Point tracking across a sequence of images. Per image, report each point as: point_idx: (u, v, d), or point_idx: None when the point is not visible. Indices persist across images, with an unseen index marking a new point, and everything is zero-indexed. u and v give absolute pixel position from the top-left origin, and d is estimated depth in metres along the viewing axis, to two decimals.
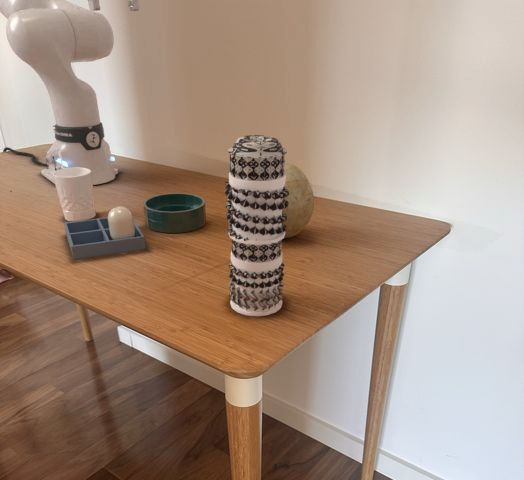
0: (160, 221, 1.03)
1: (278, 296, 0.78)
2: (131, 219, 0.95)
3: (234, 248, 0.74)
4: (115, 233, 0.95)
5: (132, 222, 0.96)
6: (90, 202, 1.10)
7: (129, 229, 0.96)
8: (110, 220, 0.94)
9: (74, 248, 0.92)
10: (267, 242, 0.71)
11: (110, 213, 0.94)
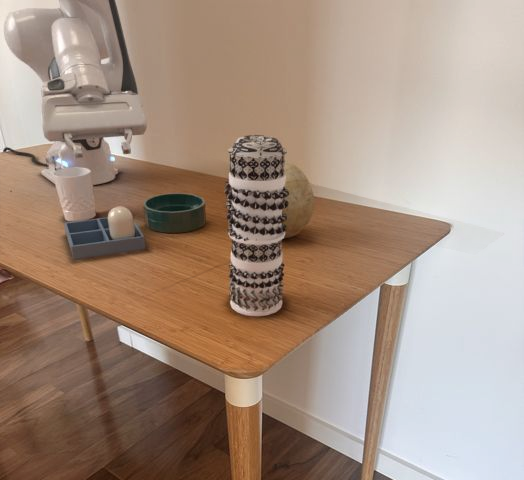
0: (160, 221, 1.03)
1: (278, 296, 0.78)
2: (131, 219, 0.95)
3: (234, 248, 0.74)
4: (115, 233, 0.95)
5: (132, 222, 0.96)
6: (90, 202, 1.10)
7: (129, 229, 0.96)
8: (110, 220, 0.94)
9: (74, 248, 0.92)
10: (267, 242, 0.71)
11: (110, 213, 0.94)
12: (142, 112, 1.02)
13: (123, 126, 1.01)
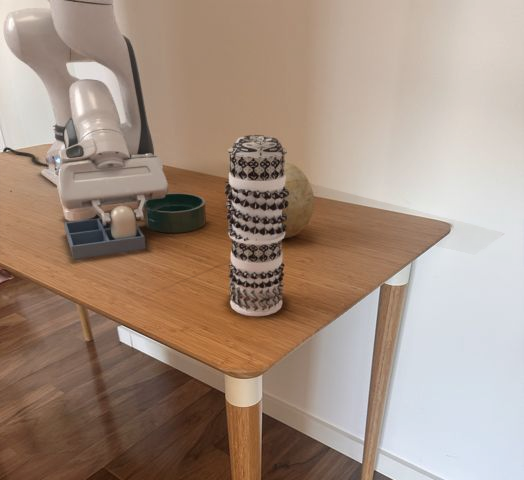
0: (160, 221, 1.03)
1: (278, 296, 0.78)
2: (133, 219, 0.95)
3: (234, 248, 0.74)
4: (116, 232, 0.95)
5: (134, 222, 0.96)
6: None
7: (131, 229, 0.96)
8: (112, 218, 0.94)
9: (74, 248, 0.92)
10: (267, 242, 0.71)
11: (113, 211, 0.94)
12: (163, 177, 0.98)
13: (144, 192, 0.97)
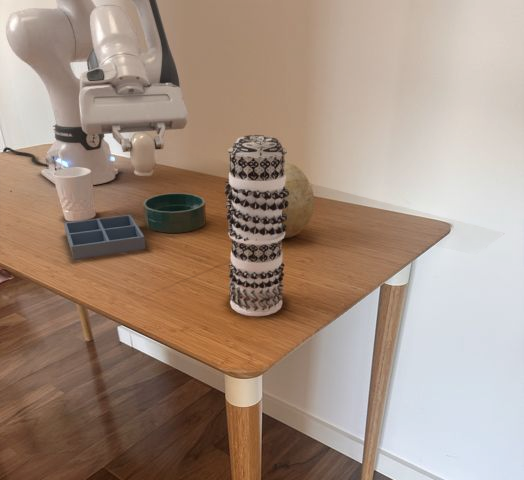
0: (160, 221, 1.03)
1: (278, 296, 0.78)
2: (153, 146, 0.95)
3: (234, 248, 0.74)
4: (136, 158, 0.94)
5: (154, 149, 0.95)
6: (90, 202, 1.10)
7: (151, 156, 0.95)
8: (132, 144, 0.93)
9: (74, 248, 0.92)
10: (267, 242, 0.71)
11: (133, 137, 0.93)
12: (183, 105, 0.97)
13: (164, 119, 0.96)
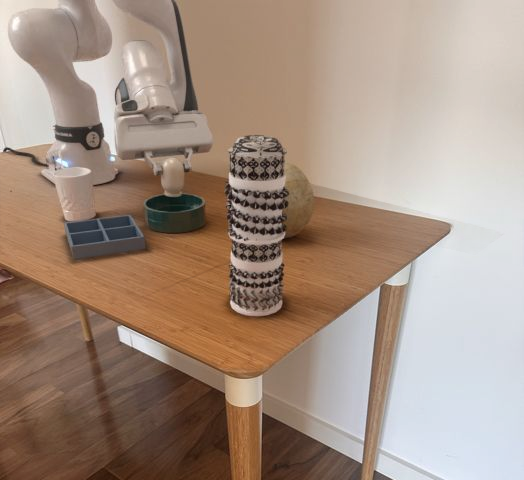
0: (160, 221, 1.03)
1: (278, 296, 0.78)
2: (183, 169, 1.03)
3: (234, 248, 0.74)
4: (167, 181, 1.02)
5: (183, 173, 1.03)
6: (90, 202, 1.10)
7: (180, 178, 1.03)
8: (164, 168, 1.01)
9: (74, 248, 0.92)
10: (267, 242, 0.71)
11: (164, 162, 1.01)
12: (209, 131, 1.06)
13: (192, 145, 1.04)
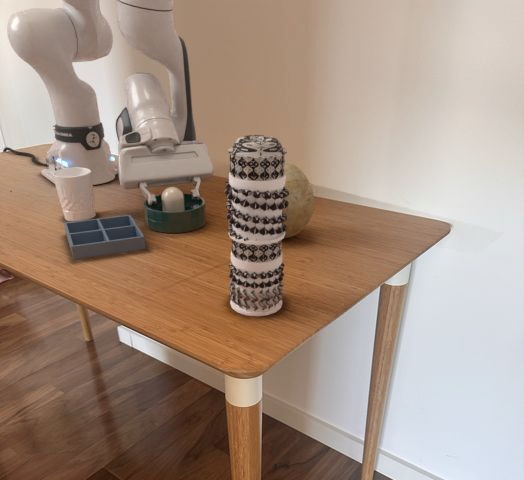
0: (160, 221, 1.03)
1: (278, 296, 0.78)
2: (182, 198, 1.06)
3: (234, 248, 0.74)
4: (168, 211, 1.06)
5: (183, 201, 1.06)
6: (90, 202, 1.10)
7: (181, 207, 1.06)
8: (164, 199, 1.05)
9: (74, 248, 0.92)
10: (267, 242, 0.71)
11: (164, 192, 1.05)
12: (209, 161, 1.09)
13: (193, 174, 1.07)
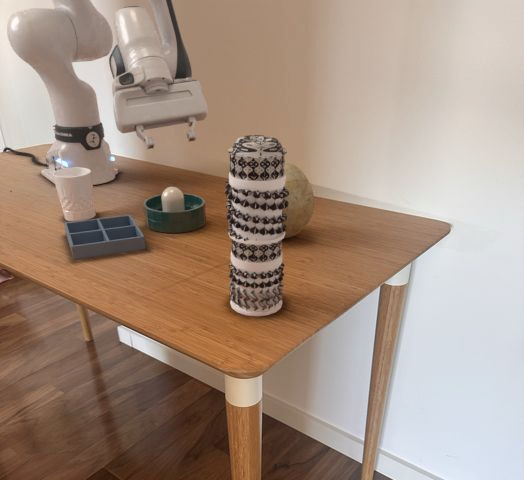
0: (160, 221, 1.03)
1: (278, 296, 0.78)
2: (182, 198, 1.06)
3: (234, 248, 0.74)
4: (168, 211, 1.06)
5: (183, 201, 1.06)
6: (90, 202, 1.10)
7: (181, 207, 1.06)
8: (164, 199, 1.05)
9: (74, 248, 0.92)
10: (267, 242, 0.71)
11: (164, 192, 1.05)
12: (204, 100, 1.09)
13: (188, 115, 1.08)
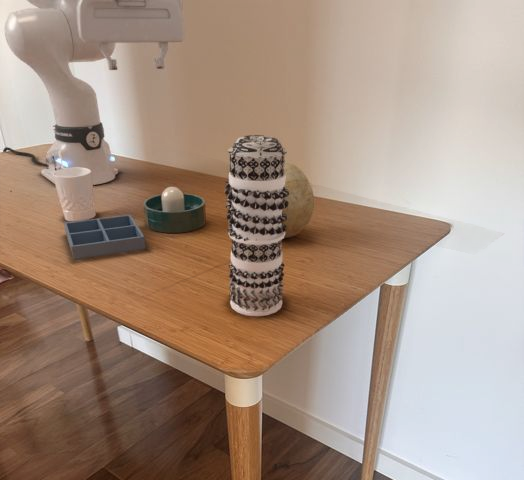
0: (160, 221, 1.03)
1: (278, 296, 0.78)
2: (182, 198, 1.06)
3: (234, 248, 0.74)
4: (168, 211, 1.06)
5: (183, 201, 1.06)
6: (90, 202, 1.10)
7: (181, 207, 1.06)
8: (164, 199, 1.05)
9: (74, 248, 0.92)
10: (267, 242, 0.71)
11: (164, 192, 1.05)
12: (182, 26, 0.99)
13: (161, 41, 0.99)
